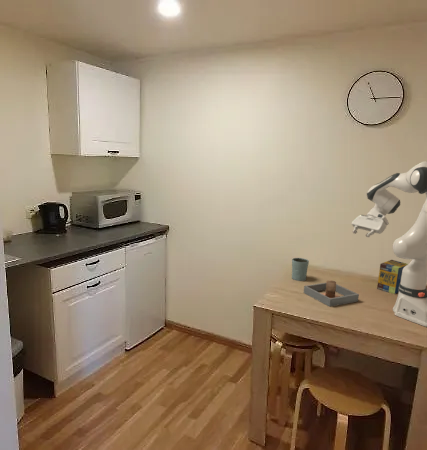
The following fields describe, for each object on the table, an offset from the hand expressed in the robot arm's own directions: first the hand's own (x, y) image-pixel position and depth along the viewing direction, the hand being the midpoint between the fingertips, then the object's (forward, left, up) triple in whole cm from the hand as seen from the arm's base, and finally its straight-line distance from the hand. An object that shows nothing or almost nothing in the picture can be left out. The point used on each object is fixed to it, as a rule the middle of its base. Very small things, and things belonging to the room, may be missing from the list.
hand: (360, 234), depth 211 cm
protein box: (-11, -19, -32) cm, 38 cm away
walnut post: (-8, +26, -31) cm, 41 cm away
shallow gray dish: (-8, +26, -31) cm, 42 cm away
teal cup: (+22, +23, -32) cm, 45 cm away
